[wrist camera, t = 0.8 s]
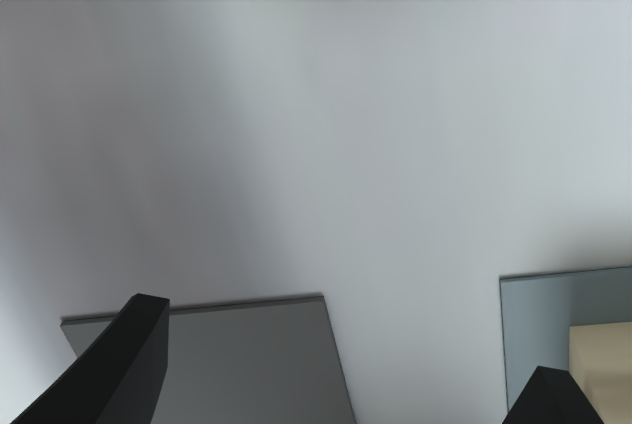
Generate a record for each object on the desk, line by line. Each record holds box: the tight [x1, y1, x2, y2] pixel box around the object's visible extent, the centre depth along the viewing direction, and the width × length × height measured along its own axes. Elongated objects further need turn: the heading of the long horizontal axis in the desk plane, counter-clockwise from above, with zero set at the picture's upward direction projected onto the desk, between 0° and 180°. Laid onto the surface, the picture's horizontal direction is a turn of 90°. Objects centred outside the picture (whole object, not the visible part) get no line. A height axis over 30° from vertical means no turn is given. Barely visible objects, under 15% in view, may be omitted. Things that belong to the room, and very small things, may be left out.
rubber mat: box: [60, 296, 356, 424], centre depth 28 cm, size 10×12×1 cm
